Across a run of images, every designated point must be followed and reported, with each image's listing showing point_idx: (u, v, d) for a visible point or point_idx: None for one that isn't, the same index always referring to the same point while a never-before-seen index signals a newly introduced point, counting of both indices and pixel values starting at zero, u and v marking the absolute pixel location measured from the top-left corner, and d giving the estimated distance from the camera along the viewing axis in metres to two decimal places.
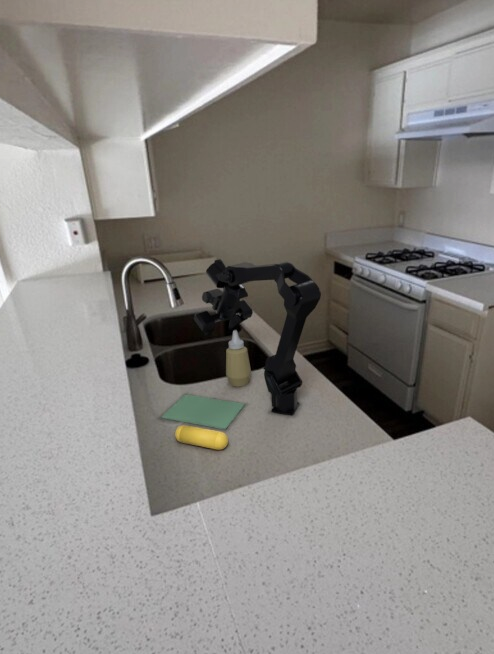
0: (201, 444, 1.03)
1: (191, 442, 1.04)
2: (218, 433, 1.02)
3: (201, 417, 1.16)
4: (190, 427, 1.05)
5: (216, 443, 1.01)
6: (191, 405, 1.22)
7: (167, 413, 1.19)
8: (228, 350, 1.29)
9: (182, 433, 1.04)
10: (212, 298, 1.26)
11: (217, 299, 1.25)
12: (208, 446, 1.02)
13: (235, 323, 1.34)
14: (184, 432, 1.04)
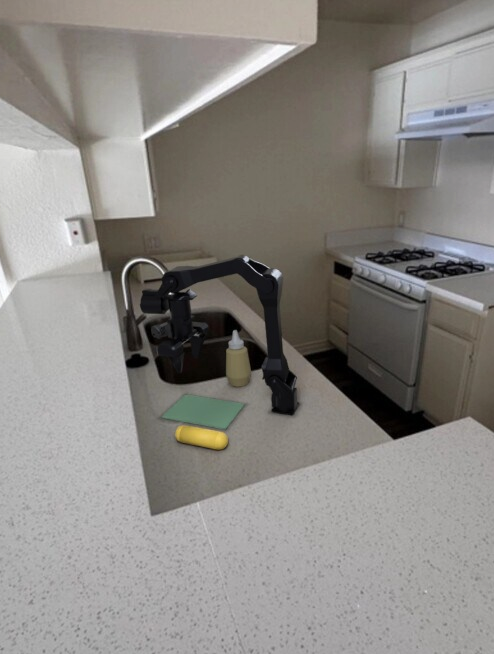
0: (201, 444, 1.03)
1: (191, 442, 1.04)
2: (218, 433, 1.02)
3: (201, 417, 1.16)
4: (190, 427, 1.05)
5: (216, 443, 1.01)
6: (191, 405, 1.22)
7: (167, 413, 1.19)
8: (228, 350, 1.29)
9: (182, 433, 1.04)
10: (163, 327, 1.14)
11: (169, 323, 1.13)
12: (208, 446, 1.02)
13: (198, 346, 1.22)
14: (184, 432, 1.04)
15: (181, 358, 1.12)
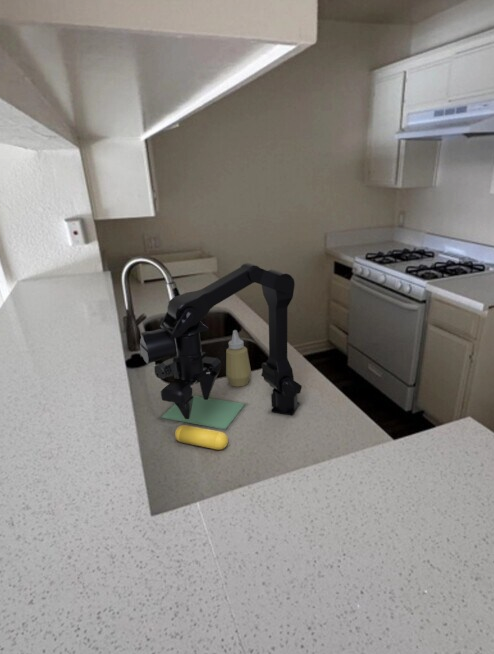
0: (201, 444, 1.03)
1: (191, 442, 1.04)
2: (218, 433, 1.02)
3: (201, 417, 1.16)
4: (190, 427, 1.05)
5: (216, 443, 1.01)
6: None
7: (167, 413, 1.19)
8: (228, 350, 1.29)
9: (182, 433, 1.04)
10: (168, 366, 0.97)
11: (175, 362, 0.96)
12: (208, 446, 1.02)
13: (209, 386, 1.05)
14: (184, 432, 1.04)
15: (189, 404, 0.94)
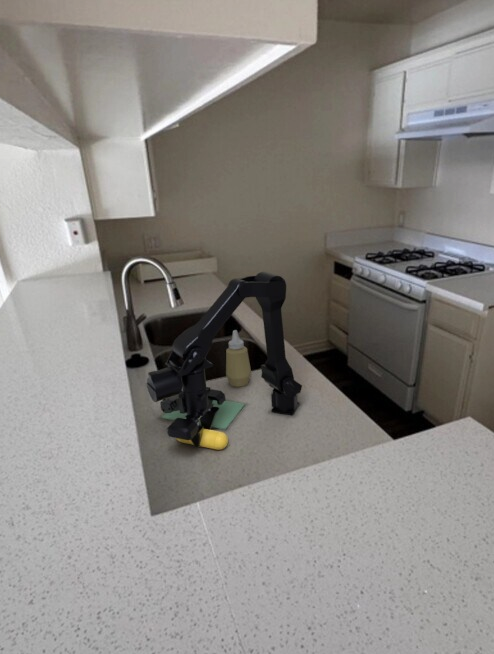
0: (201, 444, 1.03)
1: (191, 442, 1.04)
2: (218, 433, 1.02)
3: None
4: None
5: (216, 443, 1.01)
6: None
7: (167, 413, 1.19)
8: (228, 350, 1.29)
9: None
10: (174, 401, 0.99)
11: (181, 397, 0.98)
12: (208, 446, 1.02)
13: (209, 423, 1.05)
14: None
15: (200, 433, 0.99)
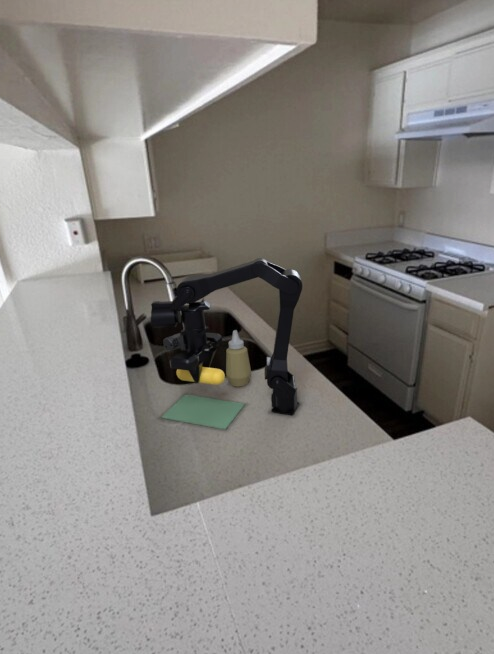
0: (200, 380, 1.12)
1: (191, 378, 1.13)
2: (216, 369, 1.12)
3: (201, 417, 1.16)
4: None
5: (214, 378, 1.11)
6: (191, 405, 1.22)
7: (167, 413, 1.19)
8: (228, 350, 1.29)
9: (183, 371, 1.14)
10: (176, 339, 1.09)
11: (182, 335, 1.08)
12: (207, 381, 1.12)
13: (208, 361, 1.15)
14: (185, 370, 1.14)
15: (199, 368, 1.09)
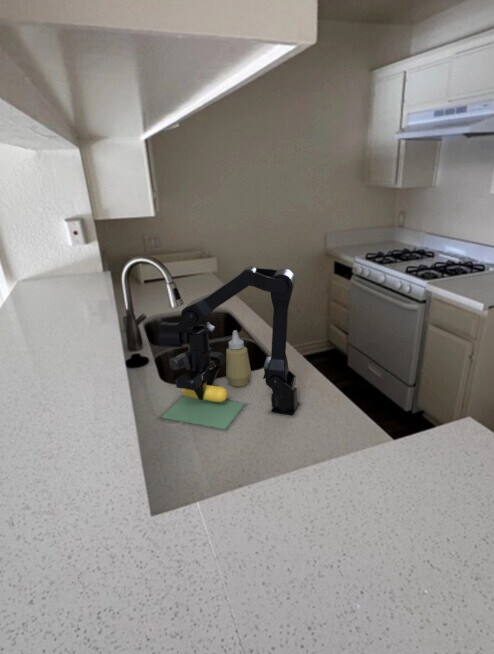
0: (204, 397, 1.19)
1: (196, 396, 1.20)
2: (219, 387, 1.18)
3: (201, 417, 1.16)
4: None
5: (217, 396, 1.17)
6: (191, 405, 1.22)
7: (167, 413, 1.19)
8: (228, 350, 1.29)
9: None
10: (181, 359, 1.15)
11: (187, 355, 1.15)
12: (210, 399, 1.18)
13: (211, 380, 1.21)
14: None
15: (203, 387, 1.15)
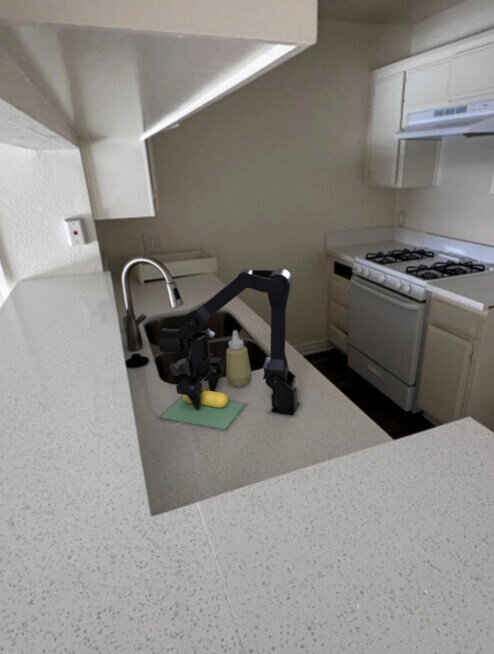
0: (205, 403, 1.20)
1: None
2: (220, 393, 1.19)
3: (201, 417, 1.16)
4: None
5: (218, 402, 1.18)
6: (191, 405, 1.22)
7: (167, 413, 1.19)
8: (228, 350, 1.29)
9: None
10: (182, 365, 1.16)
11: (188, 361, 1.15)
12: (211, 405, 1.19)
13: (215, 382, 1.24)
14: None
15: (200, 396, 1.14)
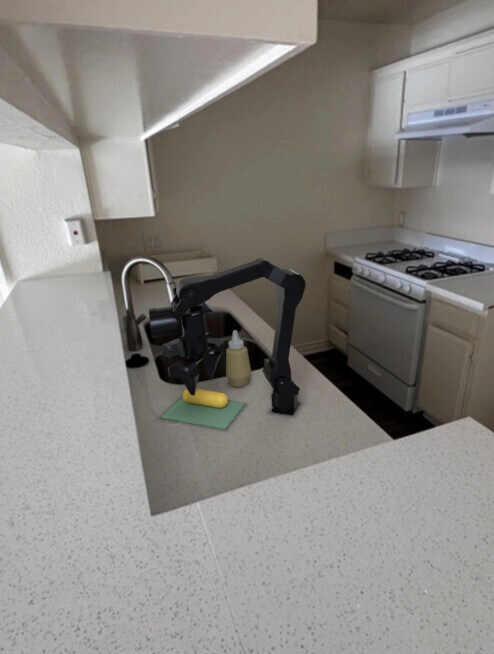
0: (205, 403, 1.20)
1: (196, 402, 1.21)
2: (219, 393, 1.19)
3: (201, 417, 1.16)
4: None
5: (218, 402, 1.18)
6: (191, 405, 1.22)
7: (167, 413, 1.19)
8: (228, 350, 1.29)
9: (188, 394, 1.21)
10: (175, 345, 1.03)
11: (181, 340, 1.02)
12: (211, 405, 1.19)
13: (213, 365, 1.10)
14: None
15: (195, 380, 1.00)
